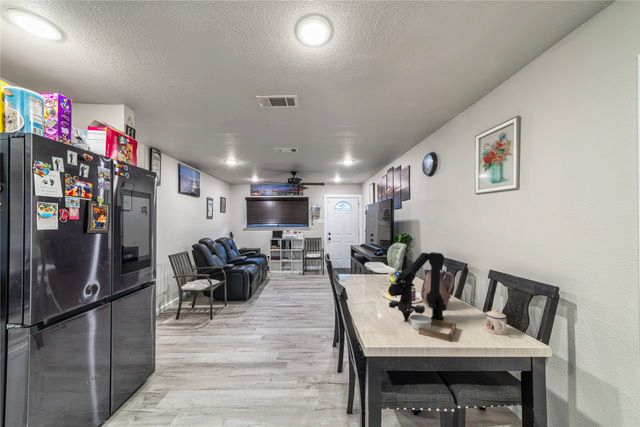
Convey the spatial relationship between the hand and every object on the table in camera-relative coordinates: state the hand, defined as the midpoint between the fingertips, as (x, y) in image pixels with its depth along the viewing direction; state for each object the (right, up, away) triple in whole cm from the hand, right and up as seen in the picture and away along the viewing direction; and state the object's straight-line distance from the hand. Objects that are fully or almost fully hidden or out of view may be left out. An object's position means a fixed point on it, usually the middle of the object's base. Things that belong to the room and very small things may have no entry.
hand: (406, 321), depth 145 cm
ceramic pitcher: (+31, -3, +29) cm, 42 cm away
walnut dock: (+13, -1, -9) cm, 16 cm away
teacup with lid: (+44, -1, -12) cm, 46 cm away
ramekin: (+6, -2, -5) cm, 8 cm away
